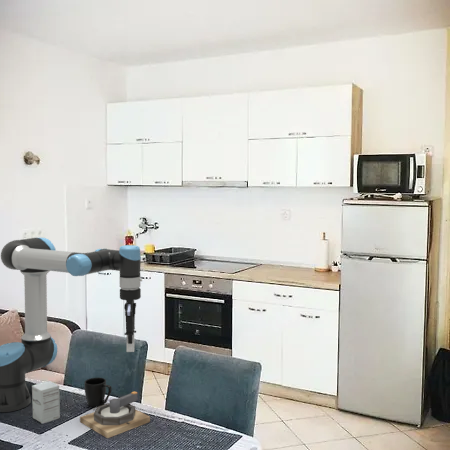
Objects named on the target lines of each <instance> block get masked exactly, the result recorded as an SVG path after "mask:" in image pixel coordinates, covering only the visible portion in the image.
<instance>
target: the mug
mask: <svg viewBox="0 0 450 450" xmlns="http://www.w3.org/2000/svg"><path fill="white" fill-rule="evenodd" d="M107 389H108V392H107ZM112 390H113V389H112V386H111V385H110V384H107V379H106V378H103V377H92V378H88V379H86V380H85V381H84V395H85V398H86V399H85V400H86V401H87V404H88V407H90V408H97V407H99V406H102V405H105V404H107V402H108V400H109V397H110V396H111V394H112ZM106 392H107V395H106Z"/></svg>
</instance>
